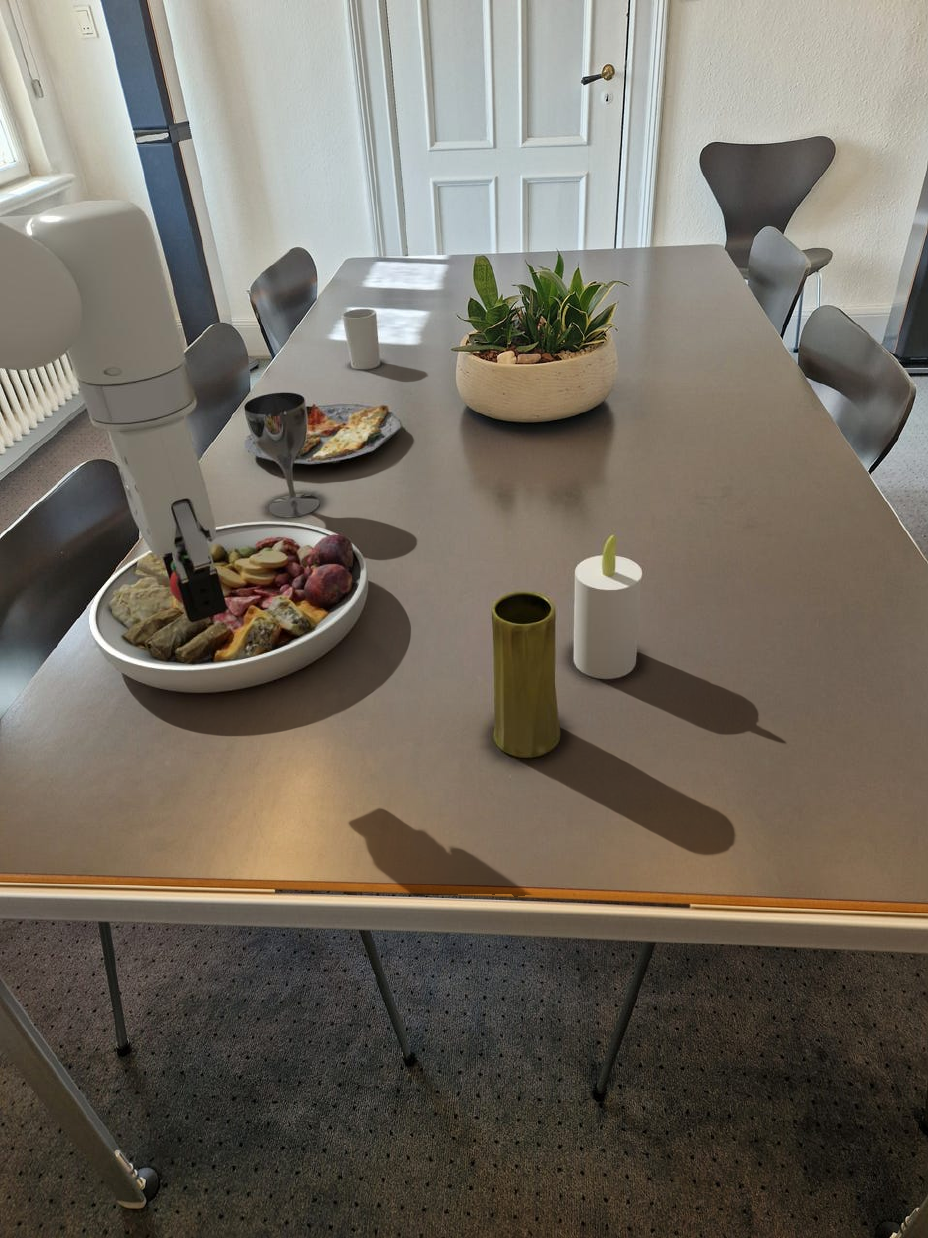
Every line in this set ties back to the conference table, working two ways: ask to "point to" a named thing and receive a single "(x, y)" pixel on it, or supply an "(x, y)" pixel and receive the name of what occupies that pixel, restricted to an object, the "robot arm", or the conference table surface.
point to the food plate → (340, 432)
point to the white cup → (362, 338)
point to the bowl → (235, 610)
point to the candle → (606, 614)
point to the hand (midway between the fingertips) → (200, 600)
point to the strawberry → (173, 580)
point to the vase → (524, 674)
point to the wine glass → (282, 443)
